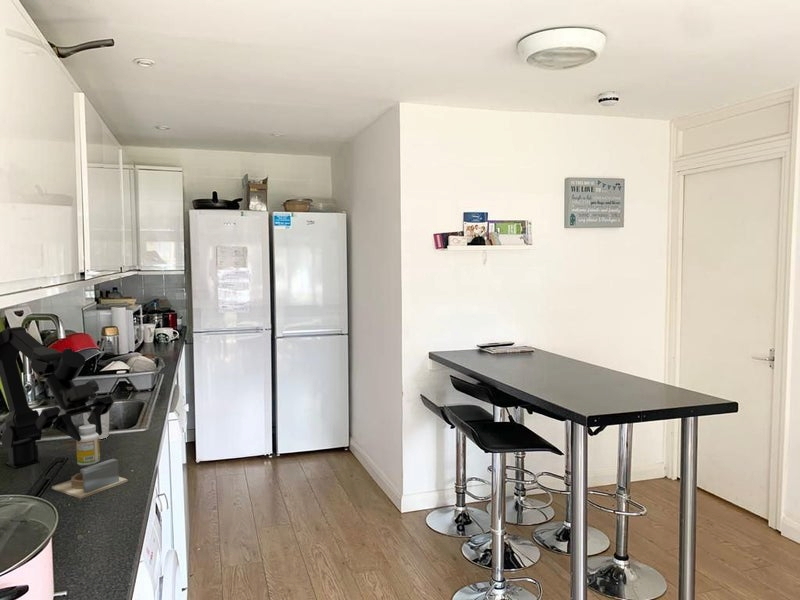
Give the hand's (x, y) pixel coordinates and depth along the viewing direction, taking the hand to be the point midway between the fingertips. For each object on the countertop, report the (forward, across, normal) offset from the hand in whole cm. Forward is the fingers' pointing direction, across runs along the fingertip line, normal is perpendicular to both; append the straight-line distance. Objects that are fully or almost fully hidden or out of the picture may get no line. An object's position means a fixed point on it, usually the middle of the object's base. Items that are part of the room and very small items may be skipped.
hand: (90, 437), depth 156 cm
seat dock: (+8, 0, +10) cm, 13 cm away
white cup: (-17, +25, +37) cm, 48 cm away
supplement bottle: (+4, 0, +6) cm, 7 cm away
